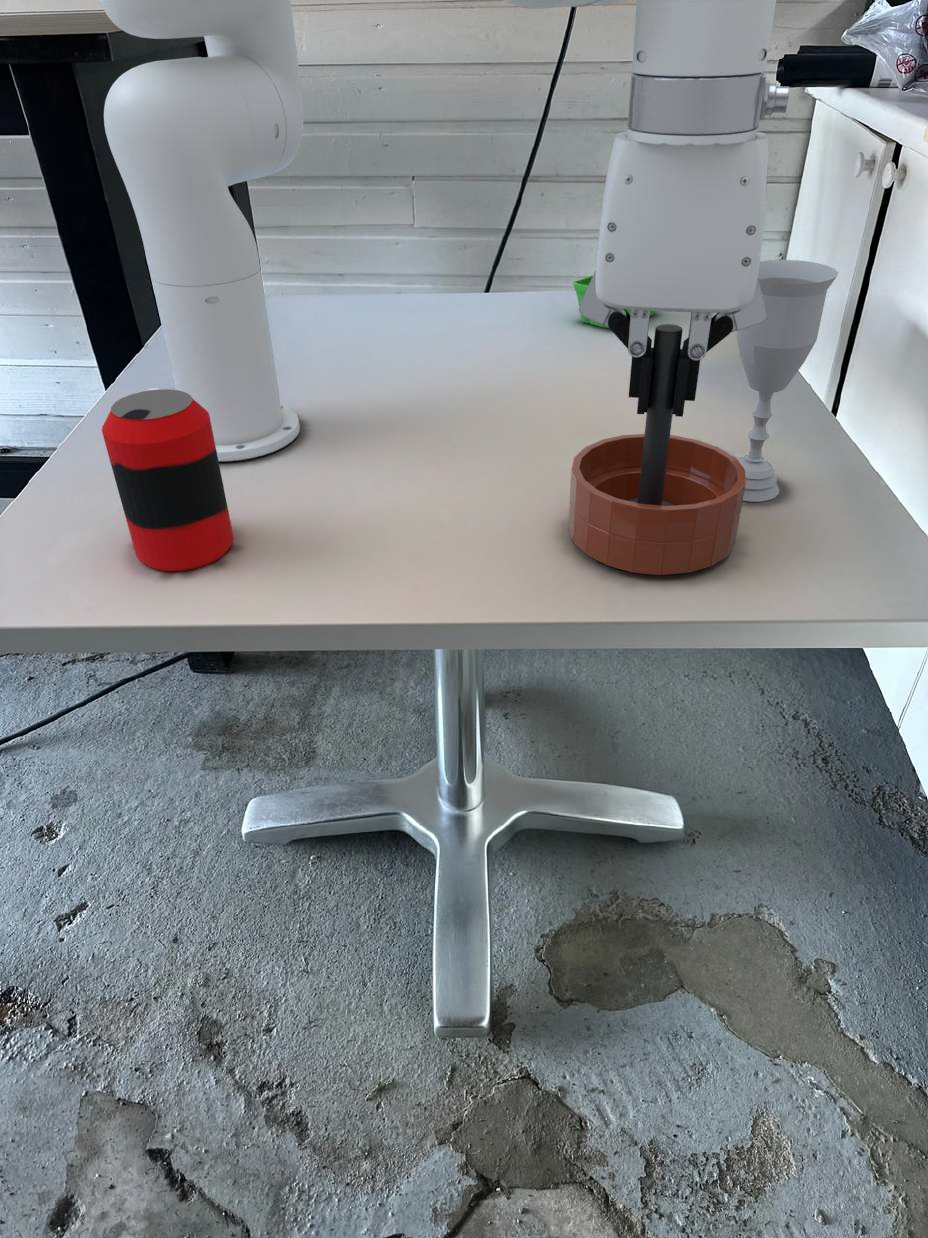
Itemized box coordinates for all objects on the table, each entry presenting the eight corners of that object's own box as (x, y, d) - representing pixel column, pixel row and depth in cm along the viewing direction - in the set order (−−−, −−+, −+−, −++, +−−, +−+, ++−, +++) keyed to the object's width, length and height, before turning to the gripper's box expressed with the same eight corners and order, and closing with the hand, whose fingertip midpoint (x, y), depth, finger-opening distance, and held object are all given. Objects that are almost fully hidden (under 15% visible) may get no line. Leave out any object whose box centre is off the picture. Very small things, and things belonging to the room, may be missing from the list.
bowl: (559, 572, 67) (562, 501, 63) (577, 494, 77) (581, 428, 73) (735, 589, 64) (749, 516, 61) (730, 506, 74) (742, 439, 71)
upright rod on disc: (613, 542, 67) (630, 337, 58) (617, 512, 71) (634, 315, 62) (677, 548, 66) (706, 341, 57) (679, 517, 70) (705, 318, 61)
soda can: (117, 567, 69) (74, 420, 62) (166, 520, 75) (132, 381, 68) (207, 578, 67) (174, 428, 60) (249, 529, 73) (223, 388, 66)
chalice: (740, 514, 73) (781, 288, 63) (690, 481, 78) (719, 267, 68) (809, 494, 76) (859, 275, 65) (756, 464, 81) (794, 255, 70)
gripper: (827, 101, 54) (773, 394, 64) (566, 102, 57) (555, 382, 67) (844, 117, 48) (780, 437, 58) (550, 117, 51) (541, 422, 61)
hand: (660, 406), depth 63 cm, fingers closed on upright rod on disc
